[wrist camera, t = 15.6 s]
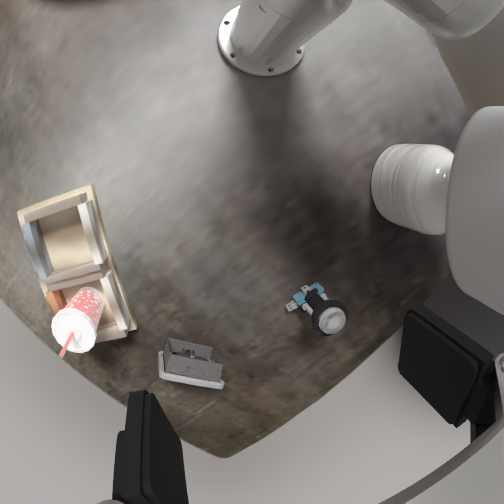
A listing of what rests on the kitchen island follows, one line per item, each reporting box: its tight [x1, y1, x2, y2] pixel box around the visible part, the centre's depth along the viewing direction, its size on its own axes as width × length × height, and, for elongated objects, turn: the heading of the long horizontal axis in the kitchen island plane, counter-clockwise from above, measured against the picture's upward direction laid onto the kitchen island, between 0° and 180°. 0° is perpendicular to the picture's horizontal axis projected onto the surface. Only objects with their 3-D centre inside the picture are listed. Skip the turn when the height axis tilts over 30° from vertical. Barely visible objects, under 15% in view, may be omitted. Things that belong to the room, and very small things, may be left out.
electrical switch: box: [158, 338, 225, 389], centre depth 42 cm, size 9×5×9 cm, turn 70°
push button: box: [286, 282, 348, 336], centre depth 43 cm, size 7×5×10 cm
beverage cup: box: [51, 287, 104, 358], centre depth 32 cm, size 6×6×14 cm
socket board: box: [17, 184, 137, 343], centre depth 36 cm, size 22×13×4 cm, turn 10°
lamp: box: [371, 106, 504, 315], centre depth 26 cm, size 24×24×42 cm
